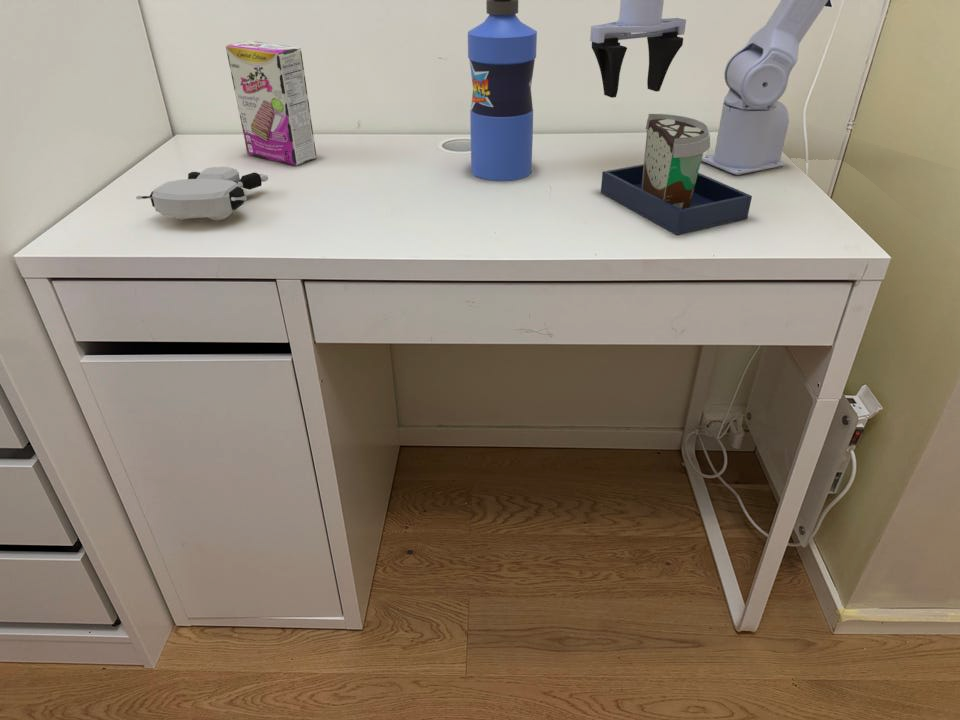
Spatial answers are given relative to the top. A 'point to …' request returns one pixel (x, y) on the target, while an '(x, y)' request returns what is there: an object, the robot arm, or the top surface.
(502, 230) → the top surface
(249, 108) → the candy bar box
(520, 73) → the water bottle
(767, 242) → the top surface
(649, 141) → the food container
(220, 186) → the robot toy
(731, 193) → the rectangular tray
